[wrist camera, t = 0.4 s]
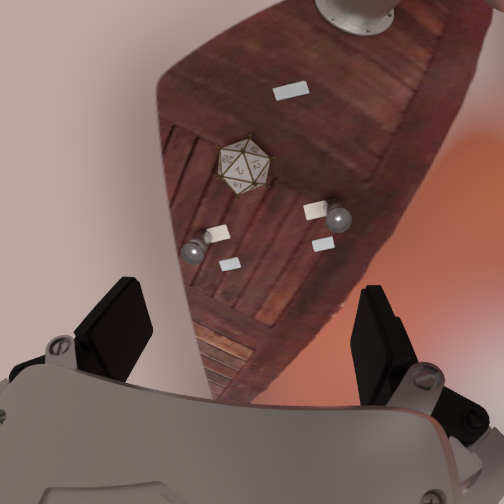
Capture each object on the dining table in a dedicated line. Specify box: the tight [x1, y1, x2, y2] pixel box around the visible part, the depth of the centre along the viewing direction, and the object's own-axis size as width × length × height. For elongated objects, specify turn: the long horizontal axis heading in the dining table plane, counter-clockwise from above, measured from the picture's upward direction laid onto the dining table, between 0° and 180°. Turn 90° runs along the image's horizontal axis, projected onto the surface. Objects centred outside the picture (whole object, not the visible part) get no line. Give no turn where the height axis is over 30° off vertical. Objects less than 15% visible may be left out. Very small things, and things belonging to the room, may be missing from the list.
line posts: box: [181, 197, 352, 265], centre depth 42 cm, size 4×26×7 cm, turn 107°
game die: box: [214, 133, 276, 201], centre depth 38 cm, size 9×8×10 cm
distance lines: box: [207, 81, 334, 271], centre depth 42 cm, size 27×22×1 cm
